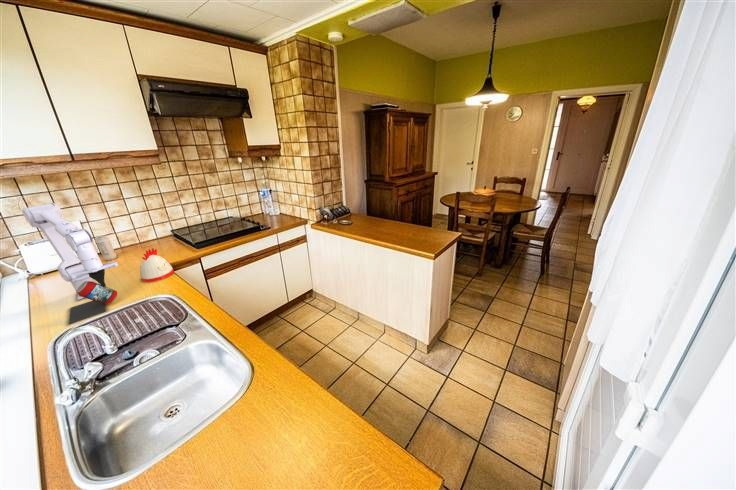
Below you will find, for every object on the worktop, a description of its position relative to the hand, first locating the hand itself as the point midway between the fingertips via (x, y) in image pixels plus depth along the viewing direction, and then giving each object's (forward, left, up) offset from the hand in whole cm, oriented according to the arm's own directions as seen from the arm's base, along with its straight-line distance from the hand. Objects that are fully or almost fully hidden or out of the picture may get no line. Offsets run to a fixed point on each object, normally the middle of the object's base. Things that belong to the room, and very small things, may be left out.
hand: (104, 286), depth 117 cm
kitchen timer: (-16, +19, -9) cm, 27 cm away
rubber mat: (-1, -8, -9) cm, 12 cm away
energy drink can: (-69, +2, -9) cm, 70 cm away
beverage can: (0, +1, -7) cm, 7 cm away
